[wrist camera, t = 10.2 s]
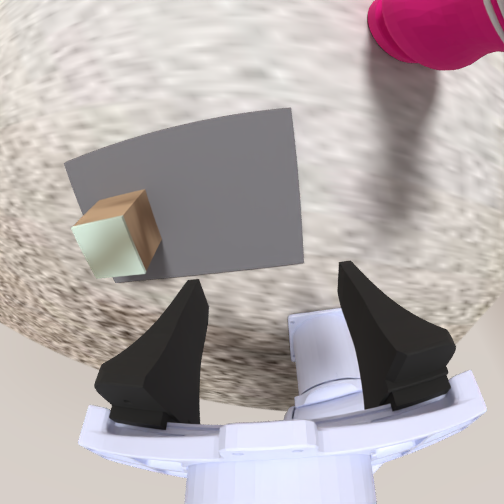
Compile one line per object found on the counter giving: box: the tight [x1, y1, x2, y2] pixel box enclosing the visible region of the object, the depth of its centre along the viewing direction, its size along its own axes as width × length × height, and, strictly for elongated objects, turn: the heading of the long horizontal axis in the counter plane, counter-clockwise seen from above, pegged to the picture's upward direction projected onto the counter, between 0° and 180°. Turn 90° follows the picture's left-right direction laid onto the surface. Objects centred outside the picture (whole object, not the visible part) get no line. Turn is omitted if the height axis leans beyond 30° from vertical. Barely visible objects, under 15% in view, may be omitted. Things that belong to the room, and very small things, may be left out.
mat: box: [64, 108, 304, 283], centre depth 23 cm, size 14×20×1 cm
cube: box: [71, 189, 162, 279], centre depth 21 cm, size 5×5×5 cm
